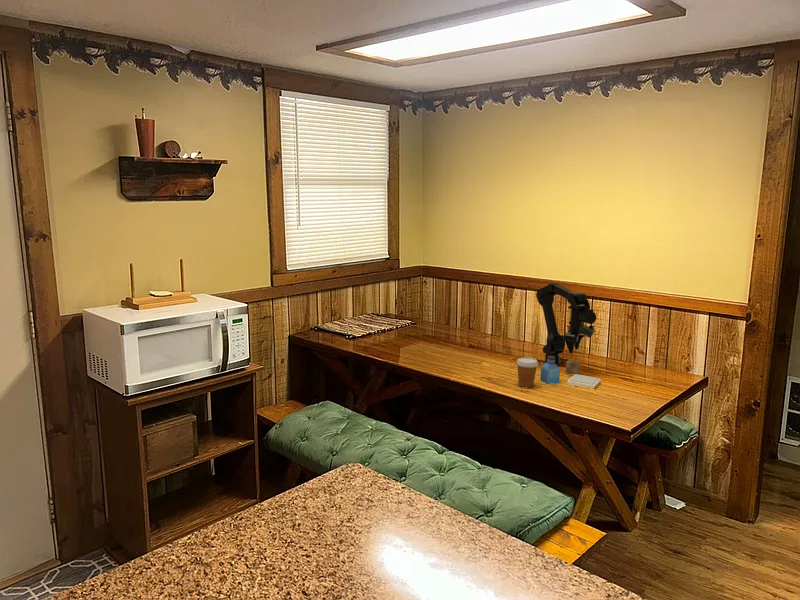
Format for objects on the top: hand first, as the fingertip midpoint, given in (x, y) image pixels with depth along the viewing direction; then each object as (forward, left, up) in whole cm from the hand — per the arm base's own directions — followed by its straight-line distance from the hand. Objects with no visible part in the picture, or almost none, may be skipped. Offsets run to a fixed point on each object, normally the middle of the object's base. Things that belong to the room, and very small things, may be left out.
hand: (573, 351), depth 296 cm
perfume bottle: (-5, -19, -11) cm, 23 cm away
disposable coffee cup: (-12, -31, -11) cm, 35 cm away
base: (+9, -13, -11) cm, 19 cm away
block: (0, 0, -11) cm, 11 cm away
